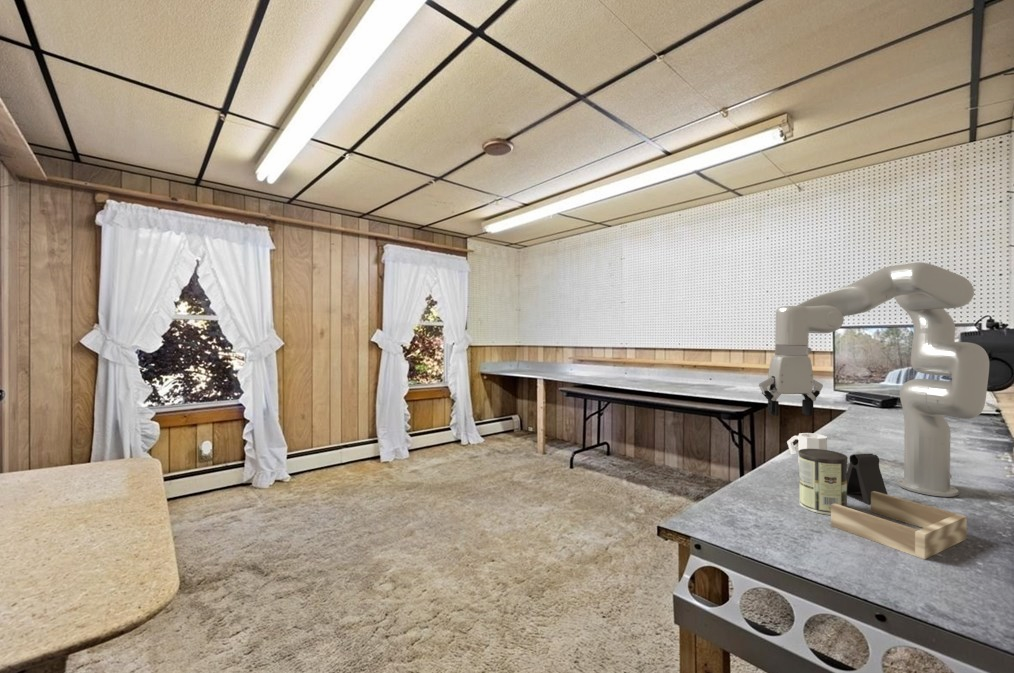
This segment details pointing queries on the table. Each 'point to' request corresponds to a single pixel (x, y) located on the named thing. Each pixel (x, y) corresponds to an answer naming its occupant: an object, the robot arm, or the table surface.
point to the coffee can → (822, 480)
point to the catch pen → (923, 543)
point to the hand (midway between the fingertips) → (790, 415)
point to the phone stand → (864, 477)
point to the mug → (807, 442)
